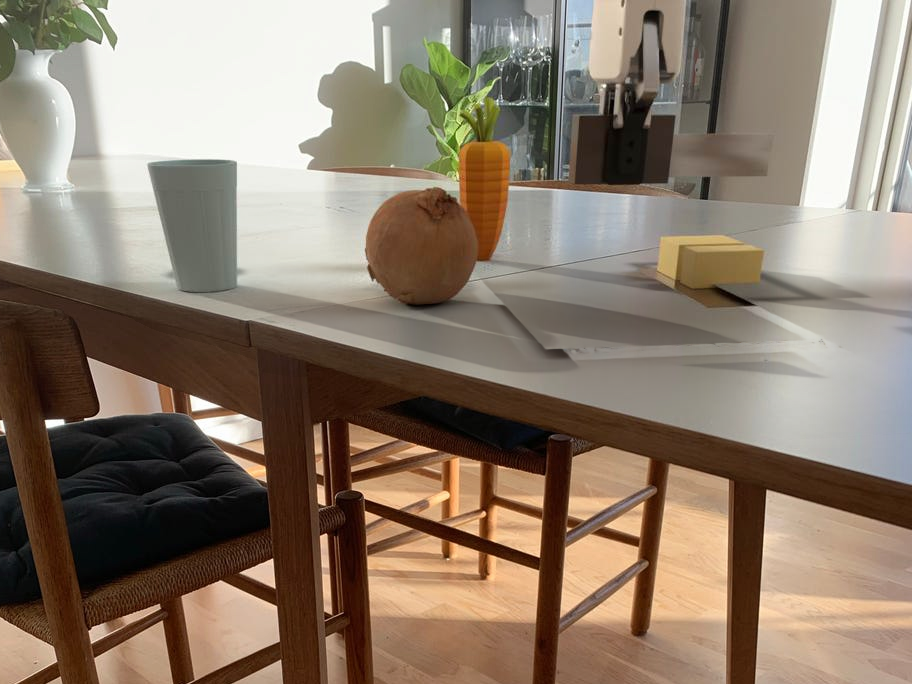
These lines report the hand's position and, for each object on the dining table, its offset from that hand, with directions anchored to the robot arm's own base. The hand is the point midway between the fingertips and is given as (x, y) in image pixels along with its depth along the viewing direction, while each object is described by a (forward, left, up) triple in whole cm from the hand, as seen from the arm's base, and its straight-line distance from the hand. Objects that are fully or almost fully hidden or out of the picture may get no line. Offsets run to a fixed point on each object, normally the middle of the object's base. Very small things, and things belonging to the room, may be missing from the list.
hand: (618, 180), depth 79 cm
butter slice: (-9, +2, -8) cm, 12 cm away
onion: (+17, +1, -9) cm, 19 cm away
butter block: (-9, -3, -8) cm, 13 cm away
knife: (-4, 0, 0) cm, 5 cm away
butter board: (-9, +2, -9) cm, 13 cm away
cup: (+36, -9, -9) cm, 38 cm away
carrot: (+9, -15, -9) cm, 20 cm away
